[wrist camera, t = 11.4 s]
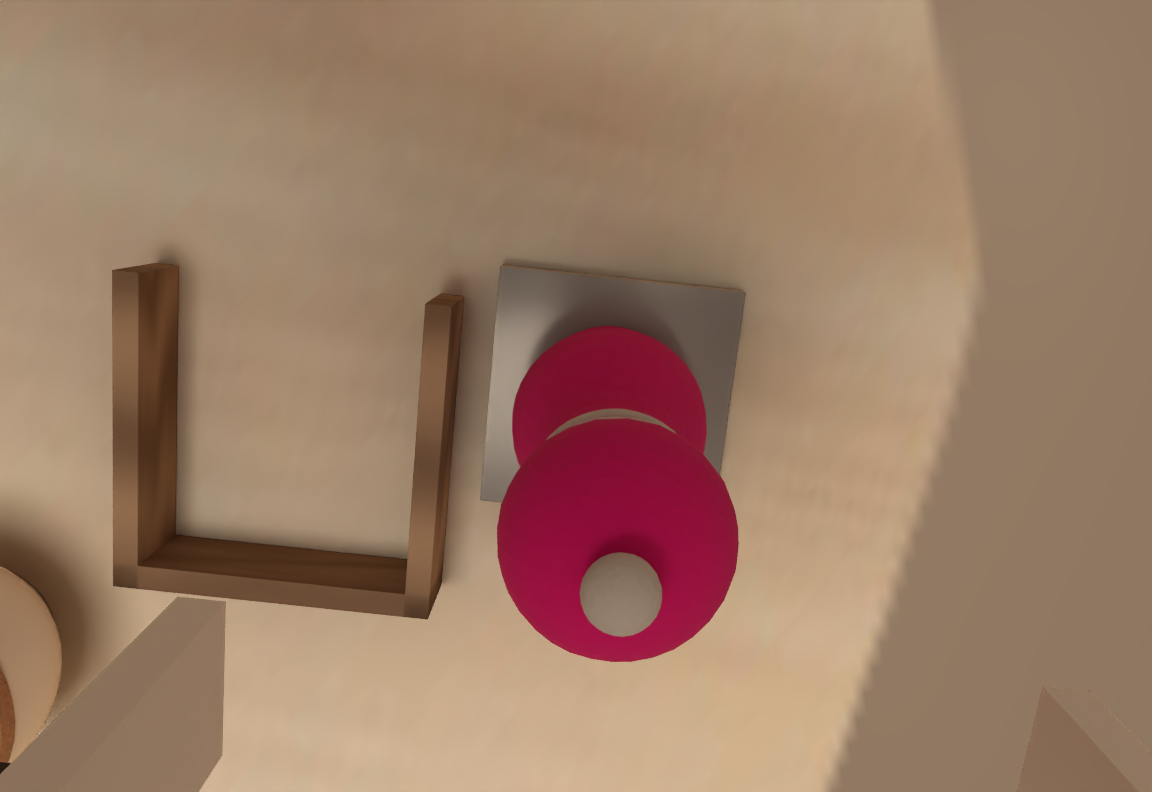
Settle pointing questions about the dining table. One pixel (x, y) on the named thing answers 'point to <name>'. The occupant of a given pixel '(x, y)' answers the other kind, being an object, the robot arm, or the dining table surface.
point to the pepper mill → (614, 500)
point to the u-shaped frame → (247, 568)
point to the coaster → (580, 301)
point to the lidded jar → (25, 664)
